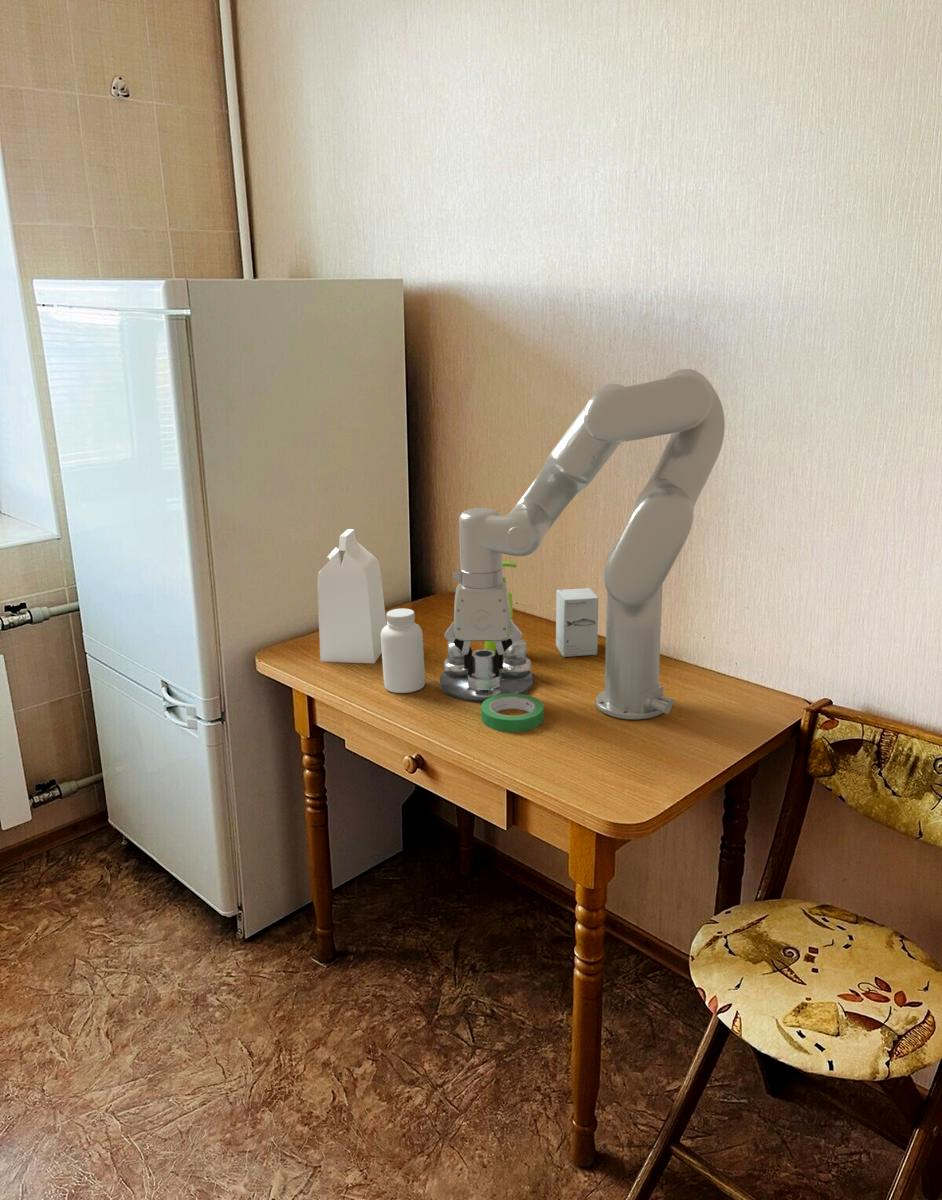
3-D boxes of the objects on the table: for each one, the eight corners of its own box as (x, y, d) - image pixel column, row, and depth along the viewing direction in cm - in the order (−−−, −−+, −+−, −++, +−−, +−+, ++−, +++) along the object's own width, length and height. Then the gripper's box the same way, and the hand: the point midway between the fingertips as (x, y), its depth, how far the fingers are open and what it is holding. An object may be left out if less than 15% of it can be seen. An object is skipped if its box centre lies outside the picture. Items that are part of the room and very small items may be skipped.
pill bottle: (399, 675, 189) (395, 603, 184) (433, 682, 185) (430, 609, 180) (375, 689, 182) (370, 615, 178) (410, 697, 178) (406, 621, 174)
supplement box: (563, 658, 195) (563, 599, 191) (555, 645, 202) (555, 588, 198) (598, 655, 196) (599, 597, 192) (589, 643, 203) (590, 586, 199)
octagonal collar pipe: (499, 690, 174) (498, 659, 172) (467, 689, 175) (466, 659, 173) (500, 677, 180) (500, 648, 178) (470, 677, 180) (469, 647, 178)
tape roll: (549, 730, 164) (549, 716, 164) (486, 735, 163) (486, 721, 162) (536, 704, 175) (536, 690, 174) (477, 709, 173) (476, 695, 173)
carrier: (552, 683, 183) (552, 648, 181) (481, 710, 172) (480, 673, 170) (490, 658, 196) (489, 625, 194) (420, 682, 185) (419, 647, 183)
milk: (374, 663, 195) (366, 540, 187) (320, 661, 197) (310, 539, 189) (388, 642, 207) (381, 525, 199) (337, 641, 208) (328, 525, 200)
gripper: (432, 584, 168) (436, 679, 174) (528, 583, 166) (529, 680, 172) (437, 572, 175) (441, 664, 181) (529, 571, 174) (530, 664, 179)
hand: (484, 671), depth 176 cm, fingers closed on octagonal collar pipe, 4 cm apart
